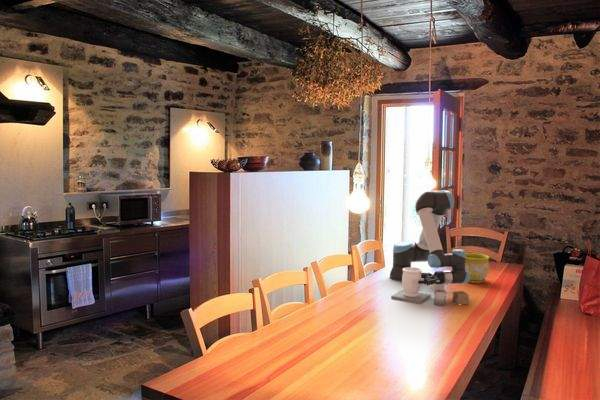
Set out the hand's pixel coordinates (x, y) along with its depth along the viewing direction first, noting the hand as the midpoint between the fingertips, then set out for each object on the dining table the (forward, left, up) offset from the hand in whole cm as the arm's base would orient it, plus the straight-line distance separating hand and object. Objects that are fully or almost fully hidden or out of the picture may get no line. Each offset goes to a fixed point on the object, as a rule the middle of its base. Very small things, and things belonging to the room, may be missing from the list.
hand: (407, 278), depth 284 cm
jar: (-2, +2, -10) cm, 10 cm away
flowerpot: (-62, +20, -11) cm, 66 cm away
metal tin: (0, +19, -11) cm, 22 cm away
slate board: (-2, +2, -11) cm, 11 cm away
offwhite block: (-28, +8, -11) cm, 31 cm away
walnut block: (-8, +28, -11) cm, 31 cm away
